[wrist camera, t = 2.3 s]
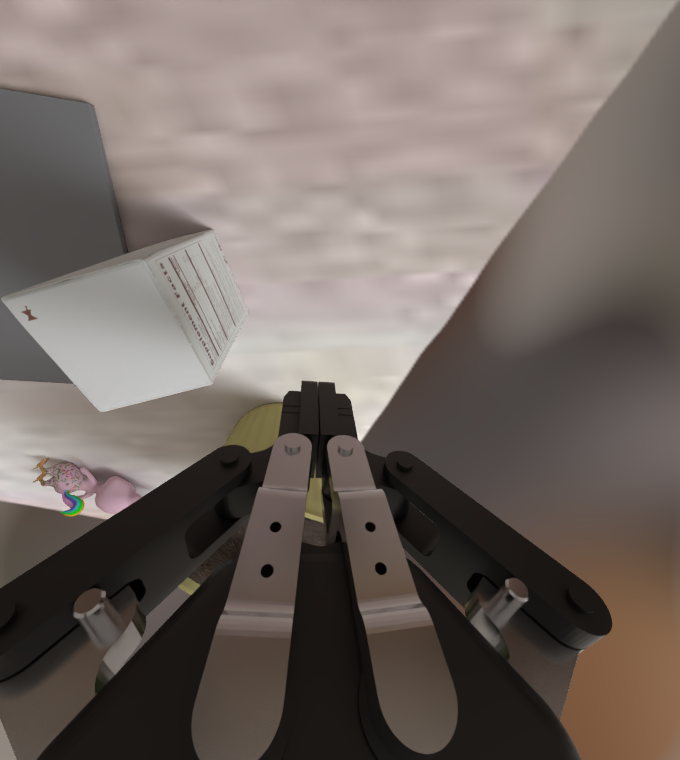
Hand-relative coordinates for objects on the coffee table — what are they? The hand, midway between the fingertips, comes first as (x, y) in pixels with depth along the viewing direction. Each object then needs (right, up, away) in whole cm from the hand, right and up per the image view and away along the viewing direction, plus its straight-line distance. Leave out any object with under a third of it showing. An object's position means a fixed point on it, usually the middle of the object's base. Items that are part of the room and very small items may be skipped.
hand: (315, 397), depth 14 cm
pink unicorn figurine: (-28, -12, +24) cm, 39 cm away
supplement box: (-11, +9, +12) cm, 19 cm away
